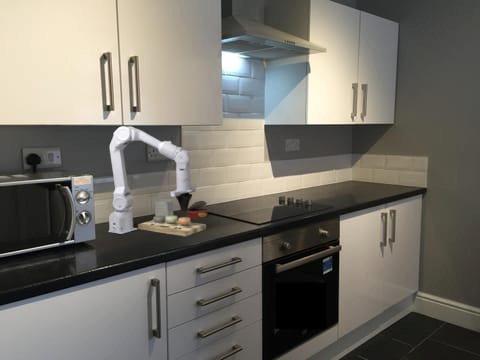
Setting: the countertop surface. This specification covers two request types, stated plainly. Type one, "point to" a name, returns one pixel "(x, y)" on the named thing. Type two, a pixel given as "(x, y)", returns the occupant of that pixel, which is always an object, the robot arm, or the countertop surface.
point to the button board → (172, 227)
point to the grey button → (159, 219)
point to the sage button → (171, 219)
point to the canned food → (197, 210)
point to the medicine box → (163, 207)
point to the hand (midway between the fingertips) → (184, 211)
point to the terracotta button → (184, 220)
